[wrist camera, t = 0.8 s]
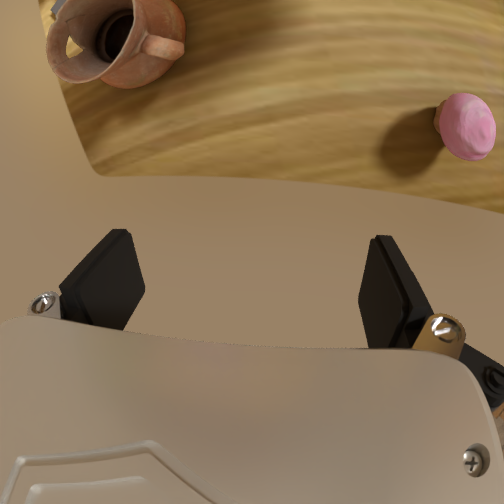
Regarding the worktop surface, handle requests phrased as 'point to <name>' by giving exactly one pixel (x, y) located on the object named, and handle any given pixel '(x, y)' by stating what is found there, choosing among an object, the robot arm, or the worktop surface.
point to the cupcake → (465, 126)
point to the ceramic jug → (116, 41)
